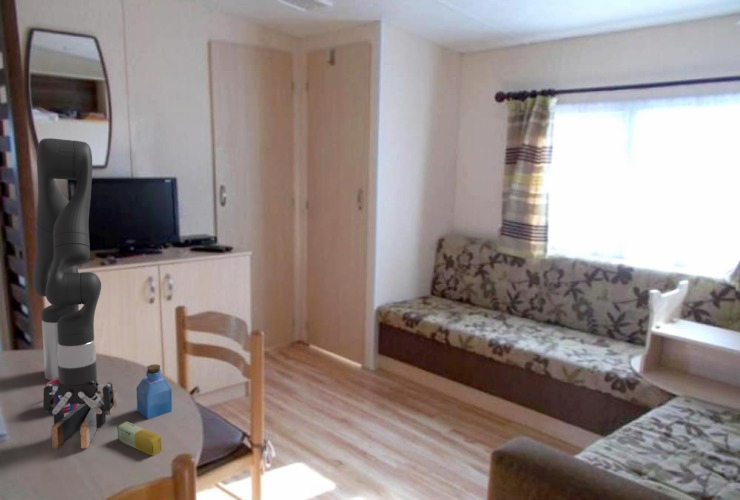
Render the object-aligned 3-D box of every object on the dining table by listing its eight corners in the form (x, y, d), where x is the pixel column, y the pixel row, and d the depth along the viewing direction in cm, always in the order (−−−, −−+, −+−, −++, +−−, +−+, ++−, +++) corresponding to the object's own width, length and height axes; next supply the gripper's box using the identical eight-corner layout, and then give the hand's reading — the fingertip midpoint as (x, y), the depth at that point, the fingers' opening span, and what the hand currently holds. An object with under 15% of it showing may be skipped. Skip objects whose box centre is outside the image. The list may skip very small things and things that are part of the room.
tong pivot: (96, 405, 135) (95, 385, 134) (116, 405, 135) (115, 385, 134) (89, 413, 130) (88, 392, 130) (110, 413, 131) (109, 392, 130)
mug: (46, 416, 128) (45, 390, 127) (47, 399, 137) (45, 375, 135) (77, 411, 132) (76, 385, 131) (76, 394, 140) (75, 371, 139)
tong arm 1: (93, 413, 130) (92, 394, 129) (97, 413, 130) (97, 395, 129) (52, 448, 114) (51, 427, 113) (58, 448, 114) (57, 427, 113)
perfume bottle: (171, 411, 134) (171, 367, 132) (147, 419, 129) (146, 373, 127) (160, 403, 138) (160, 360, 136) (137, 410, 134) (136, 366, 132)
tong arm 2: (99, 413, 130) (98, 395, 129) (104, 413, 130) (103, 394, 129) (81, 448, 115) (80, 427, 114) (87, 447, 115) (86, 426, 114)
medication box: (116, 441, 119) (116, 425, 119) (127, 435, 122) (126, 420, 121) (152, 457, 114) (152, 441, 113) (162, 451, 116) (162, 435, 116)
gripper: (116, 354, 121) (118, 419, 124) (51, 354, 119) (55, 419, 122) (104, 366, 114) (106, 435, 116) (34, 366, 112) (38, 436, 115)
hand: (80, 427), depth 119 cm, fingers open, 8 cm apart
